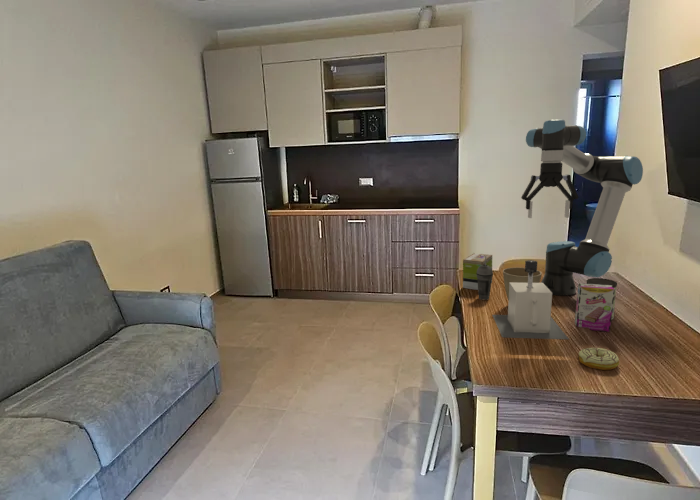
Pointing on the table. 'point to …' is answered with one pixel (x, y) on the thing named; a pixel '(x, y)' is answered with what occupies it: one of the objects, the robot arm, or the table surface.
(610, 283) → the coffee can
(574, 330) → the table surface
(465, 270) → the tea box
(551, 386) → the table surface
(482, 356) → the table surface
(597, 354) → the decorated donut
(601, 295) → the candy bar box
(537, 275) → the plant pot
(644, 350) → the table surface
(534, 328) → the white block with hole
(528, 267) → the plunger
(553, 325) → the charcoal mat
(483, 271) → the beverage cup
